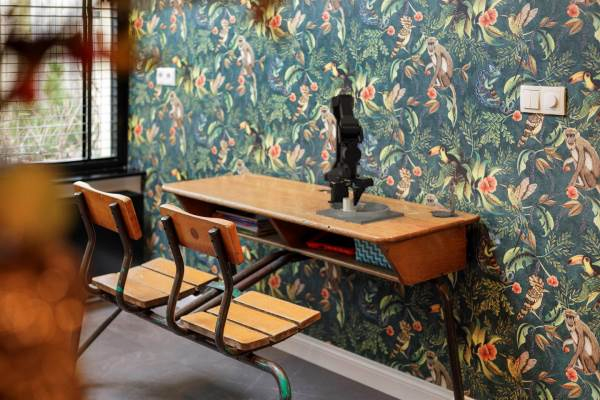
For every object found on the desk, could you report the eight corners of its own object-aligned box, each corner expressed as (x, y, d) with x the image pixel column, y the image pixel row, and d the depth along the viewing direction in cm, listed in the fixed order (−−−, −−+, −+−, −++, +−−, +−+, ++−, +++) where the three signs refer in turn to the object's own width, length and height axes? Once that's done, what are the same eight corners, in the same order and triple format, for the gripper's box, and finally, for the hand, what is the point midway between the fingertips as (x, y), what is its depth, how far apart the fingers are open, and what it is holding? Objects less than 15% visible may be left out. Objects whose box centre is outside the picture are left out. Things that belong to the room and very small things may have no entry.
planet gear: (336, 214, 274) (336, 198, 273) (347, 212, 278) (348, 196, 277) (348, 216, 270) (348, 200, 269) (359, 214, 274) (359, 198, 273)
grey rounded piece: (428, 215, 279) (429, 186, 277) (445, 212, 284) (446, 184, 282) (444, 219, 272) (446, 190, 270) (462, 216, 277) (463, 188, 275)
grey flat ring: (318, 211, 278) (318, 205, 278) (358, 203, 292) (359, 198, 292) (361, 221, 263) (361, 215, 263) (401, 212, 277) (402, 207, 277)
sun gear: (350, 211, 278) (350, 203, 277) (359, 210, 281) (359, 201, 280) (360, 214, 274) (360, 205, 274) (369, 212, 278) (369, 203, 277)
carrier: (316, 214, 279) (316, 205, 278) (358, 206, 293) (358, 197, 292) (361, 224, 263) (361, 215, 262) (403, 215, 277) (404, 206, 277)
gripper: (312, 158, 272) (312, 203, 275) (352, 164, 258) (351, 211, 261) (336, 155, 279) (335, 199, 282) (375, 161, 265) (374, 207, 268)
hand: (348, 204), depth 273 cm, fingers open, 6 cm apart
